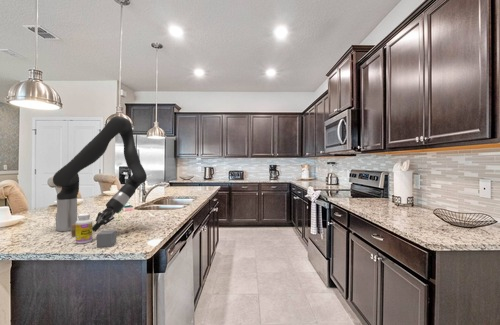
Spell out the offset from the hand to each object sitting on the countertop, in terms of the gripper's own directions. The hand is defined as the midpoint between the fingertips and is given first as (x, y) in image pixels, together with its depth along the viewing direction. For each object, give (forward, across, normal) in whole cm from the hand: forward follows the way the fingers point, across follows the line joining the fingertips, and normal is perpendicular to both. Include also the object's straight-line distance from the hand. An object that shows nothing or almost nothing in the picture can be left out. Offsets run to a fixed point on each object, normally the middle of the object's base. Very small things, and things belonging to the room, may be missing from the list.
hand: (93, 230), depth 122 cm
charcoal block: (+3, +14, +3) cm, 15 cm away
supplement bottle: (+6, 0, 0) cm, 6 cm away
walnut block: (+3, -14, +3) cm, 15 cm away
